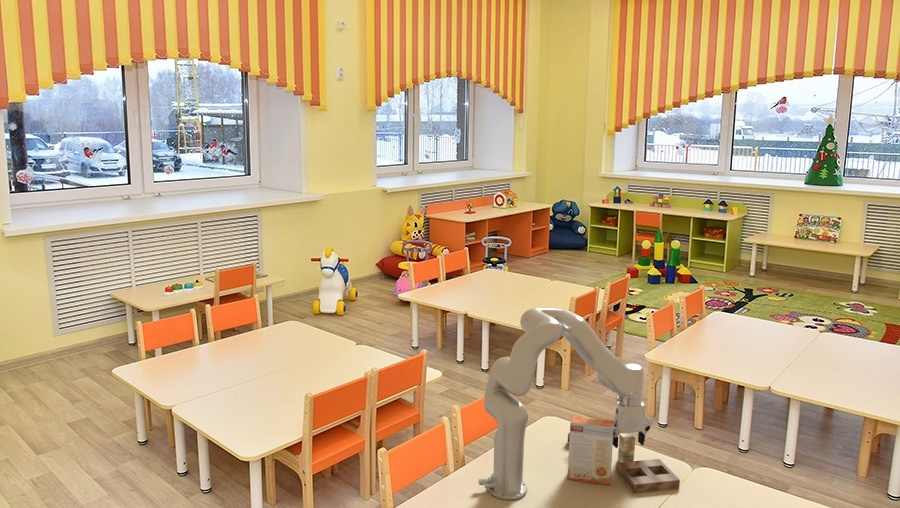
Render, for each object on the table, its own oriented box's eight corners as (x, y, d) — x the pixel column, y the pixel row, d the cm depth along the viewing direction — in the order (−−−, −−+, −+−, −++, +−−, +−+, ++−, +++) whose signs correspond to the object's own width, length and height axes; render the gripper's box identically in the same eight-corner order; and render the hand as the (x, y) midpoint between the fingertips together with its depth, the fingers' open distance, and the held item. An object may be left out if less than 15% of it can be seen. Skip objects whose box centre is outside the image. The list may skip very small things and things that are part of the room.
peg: (622, 465, 246) (624, 439, 244) (617, 459, 250) (619, 433, 247) (633, 464, 247) (635, 438, 244) (628, 458, 250) (630, 432, 248)
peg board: (634, 492, 229) (634, 484, 228) (615, 470, 242) (616, 462, 241) (679, 488, 232) (679, 479, 231) (658, 466, 245) (659, 458, 245)
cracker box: (610, 477, 238) (614, 419, 233) (609, 486, 232) (613, 427, 228) (568, 470, 242) (572, 414, 237) (566, 479, 236) (570, 421, 231)
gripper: (611, 406, 238) (609, 452, 242) (659, 401, 241) (655, 447, 245) (602, 397, 245) (600, 442, 249) (648, 392, 248) (645, 437, 252)
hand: (627, 444), depth 247 cm, fingers open, 9 cm apart
